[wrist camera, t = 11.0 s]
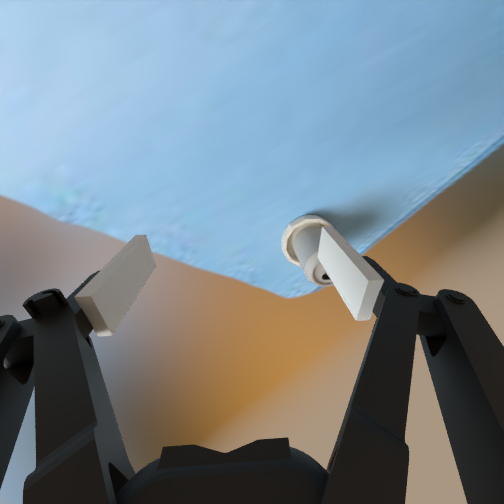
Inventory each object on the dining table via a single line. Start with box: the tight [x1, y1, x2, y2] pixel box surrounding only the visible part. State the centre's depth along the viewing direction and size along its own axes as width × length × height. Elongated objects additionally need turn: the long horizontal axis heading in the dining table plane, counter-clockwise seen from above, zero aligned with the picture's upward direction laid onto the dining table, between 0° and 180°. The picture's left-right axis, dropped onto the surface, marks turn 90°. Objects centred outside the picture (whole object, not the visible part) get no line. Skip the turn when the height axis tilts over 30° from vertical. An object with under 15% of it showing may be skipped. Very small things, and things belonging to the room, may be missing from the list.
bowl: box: [281, 215, 332, 266], centre depth 45 cm, size 11×11×2 cm
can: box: [293, 226, 334, 287], centre depth 40 cm, size 8×8×12 cm
